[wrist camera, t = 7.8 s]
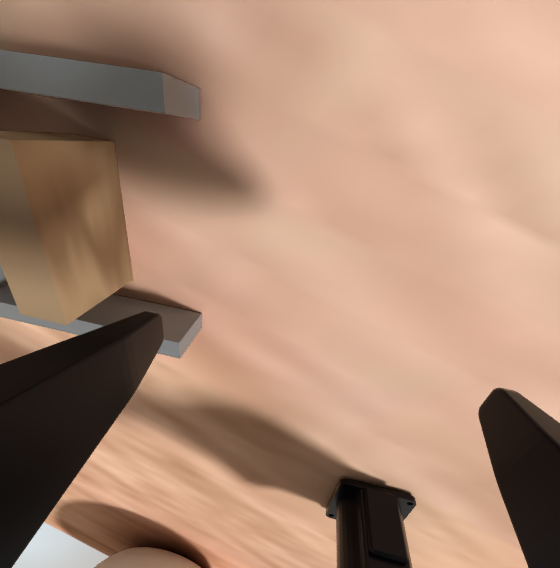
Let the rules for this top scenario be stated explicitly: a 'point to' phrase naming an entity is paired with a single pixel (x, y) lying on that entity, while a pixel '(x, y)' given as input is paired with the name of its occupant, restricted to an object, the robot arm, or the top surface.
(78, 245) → the wooden t-shaped block
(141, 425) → the top surface
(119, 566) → the soup bowl
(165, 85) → the corral
